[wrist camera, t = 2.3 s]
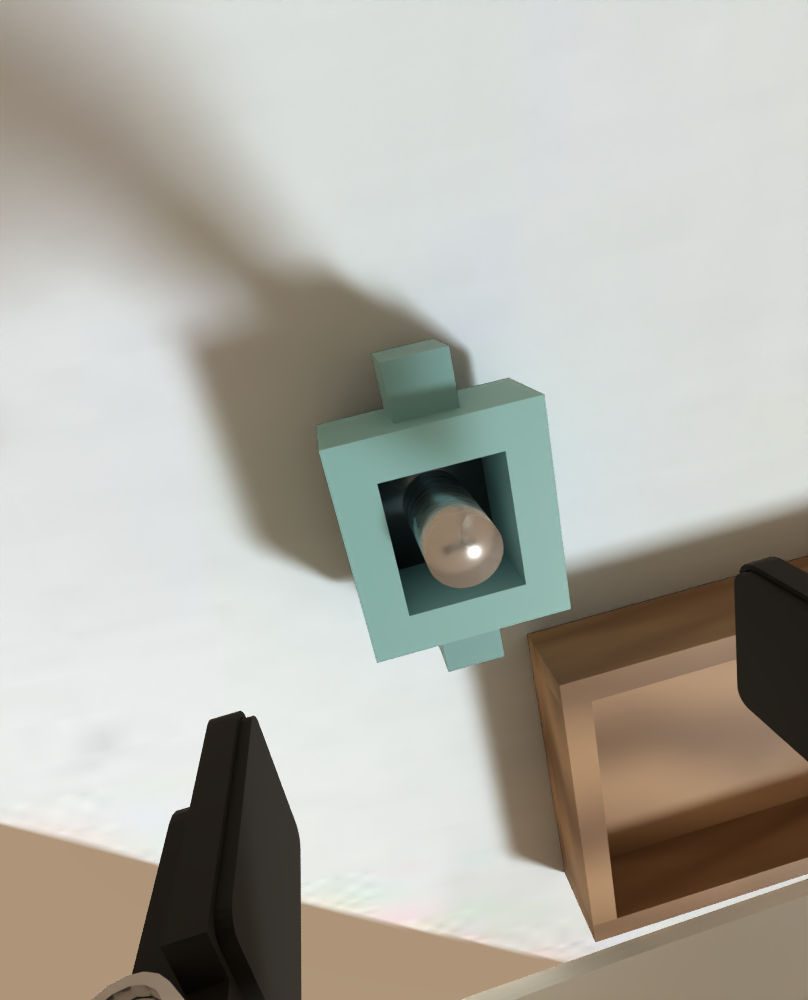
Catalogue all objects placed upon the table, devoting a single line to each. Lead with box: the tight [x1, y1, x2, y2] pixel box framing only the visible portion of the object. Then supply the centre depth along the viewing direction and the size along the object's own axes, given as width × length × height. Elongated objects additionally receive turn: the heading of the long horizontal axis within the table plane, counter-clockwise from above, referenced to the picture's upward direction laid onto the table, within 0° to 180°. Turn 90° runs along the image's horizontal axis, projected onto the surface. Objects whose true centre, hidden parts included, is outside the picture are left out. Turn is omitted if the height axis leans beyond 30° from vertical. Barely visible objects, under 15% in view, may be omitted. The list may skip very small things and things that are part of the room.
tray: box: [527, 556, 808, 942], centre depth 24 cm, size 13×15×3 cm
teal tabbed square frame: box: [316, 339, 571, 672], centre depth 17 cm, size 10×6×3 cm, turn 12°
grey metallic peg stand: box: [377, 457, 504, 588], centre depth 17 cm, size 5×5×5 cm
